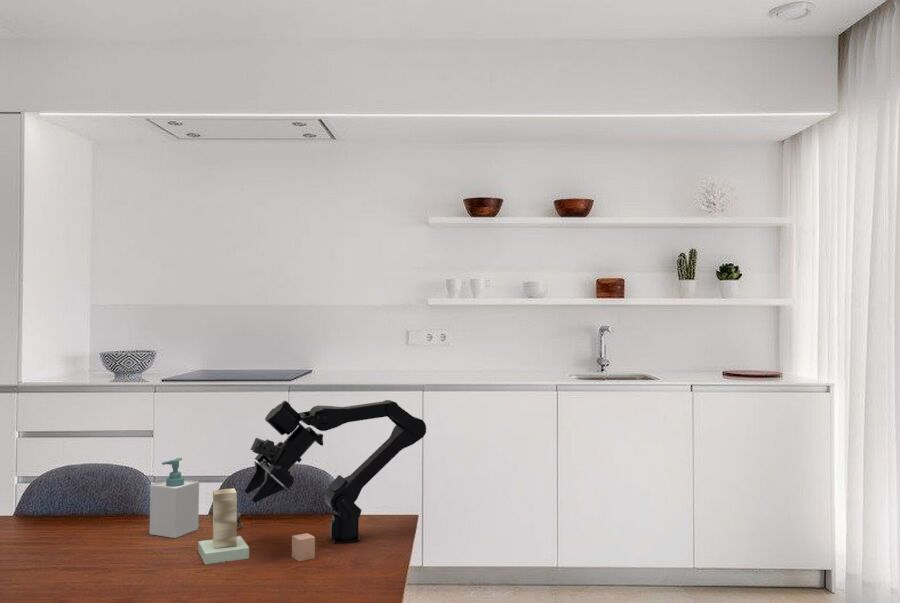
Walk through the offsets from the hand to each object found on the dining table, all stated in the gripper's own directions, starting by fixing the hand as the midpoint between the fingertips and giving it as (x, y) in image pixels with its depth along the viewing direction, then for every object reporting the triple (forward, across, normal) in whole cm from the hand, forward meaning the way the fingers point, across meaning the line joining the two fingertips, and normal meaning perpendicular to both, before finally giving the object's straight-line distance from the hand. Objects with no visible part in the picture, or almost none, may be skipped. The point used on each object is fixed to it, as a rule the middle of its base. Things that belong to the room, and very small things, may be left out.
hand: (249, 496), depth 177 cm
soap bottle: (+20, -23, -1) cm, 31 cm away
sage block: (+14, 0, +5) cm, 15 cm away
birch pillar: (+12, 0, +3) cm, 12 cm away
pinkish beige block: (+2, +9, +17) cm, 20 cm away
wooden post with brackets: (+11, -18, +8) cm, 23 cm away
